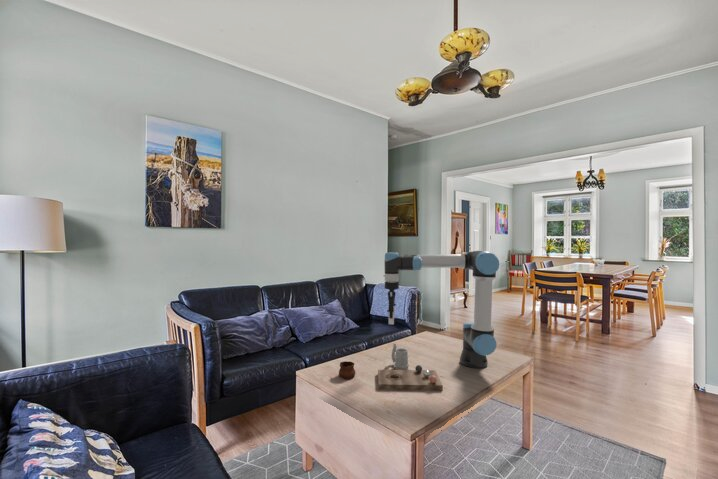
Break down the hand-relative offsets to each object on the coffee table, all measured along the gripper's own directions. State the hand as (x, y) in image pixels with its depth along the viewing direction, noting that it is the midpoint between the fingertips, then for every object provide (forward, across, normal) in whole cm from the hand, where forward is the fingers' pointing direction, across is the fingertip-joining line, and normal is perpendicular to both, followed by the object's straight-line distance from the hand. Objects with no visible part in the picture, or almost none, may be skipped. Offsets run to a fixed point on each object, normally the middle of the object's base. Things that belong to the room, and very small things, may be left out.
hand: (391, 321), depth 184 cm
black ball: (+23, +5, +14) cm, 27 cm away
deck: (+27, +12, +9) cm, 31 cm away
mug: (+27, -8, +4) cm, 29 cm away
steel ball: (+23, +11, +18) cm, 31 cm away
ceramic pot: (+28, +9, -23) cm, 37 cm away
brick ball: (+23, +17, +20) cm, 35 cm away
